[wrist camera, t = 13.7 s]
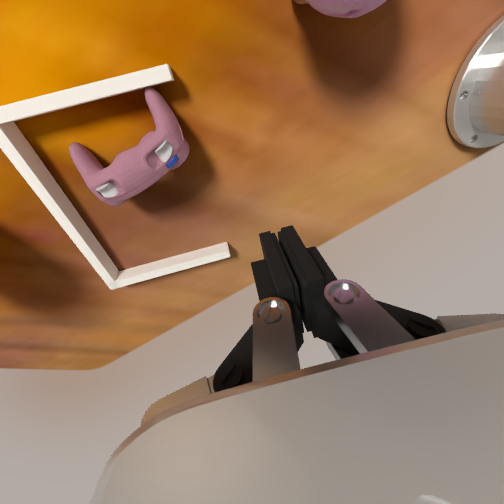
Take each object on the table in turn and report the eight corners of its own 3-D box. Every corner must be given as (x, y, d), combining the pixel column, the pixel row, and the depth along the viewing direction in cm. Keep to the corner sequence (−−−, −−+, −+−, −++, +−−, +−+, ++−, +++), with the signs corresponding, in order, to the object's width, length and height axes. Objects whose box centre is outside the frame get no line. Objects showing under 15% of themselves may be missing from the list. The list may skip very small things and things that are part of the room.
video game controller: (108, 175, 25) (114, 224, 22) (63, 143, 21) (62, 197, 18) (184, 122, 24) (204, 166, 20) (151, 76, 20) (169, 121, 16)
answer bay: (169, 66, 20) (167, 63, 18) (229, 248, 31) (230, 256, 29) (-8, 111, 20) (-27, 113, 18) (115, 279, 31) (110, 289, 29)
